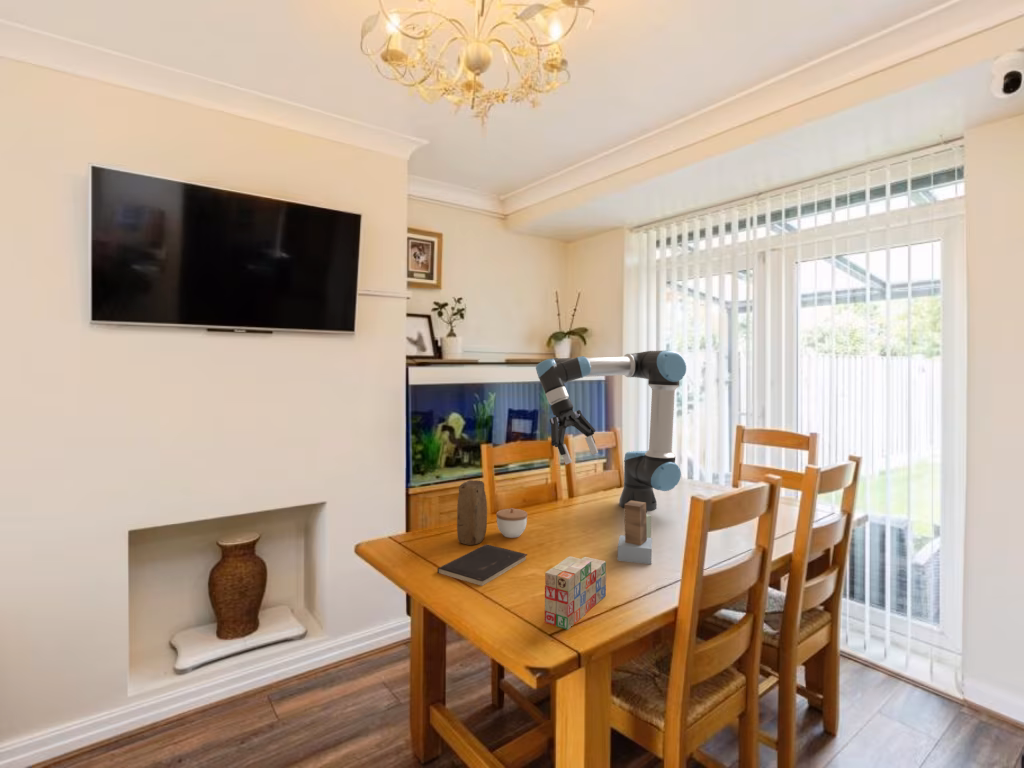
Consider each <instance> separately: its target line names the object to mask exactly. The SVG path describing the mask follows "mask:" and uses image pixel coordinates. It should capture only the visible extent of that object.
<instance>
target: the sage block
mask: <svg viewBox="0 0 1024 768" xmlns="http://www.w3.org/2000/svg"><path fill="white" fill-rule="evenodd" d="M646 525H647V538H652V534H651V533H652V515H651V514H648V513H646Z"/></svg>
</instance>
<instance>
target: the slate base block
mask: <svg viewBox="0 0 1024 768" xmlns="http://www.w3.org/2000/svg"><path fill="white" fill-rule="evenodd" d="M652 545H653V538H652V537H651V538H647V541H645V542H644V543H643V544H642V545H636V544H631V543H626V542H625V534H624V535H622V534H620V535H619V539H618V544H617V561H618V562H619V561H620V562H628V563H635V564H647V565H652V557H653V555H652V553H653V551H652V549H653V546H652Z"/></svg>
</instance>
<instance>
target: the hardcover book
mask: <svg viewBox="0 0 1024 768" xmlns="http://www.w3.org/2000/svg"><path fill="white" fill-rule="evenodd" d="M527 556H528V553H525V552H524V553H523V552H520V551H516V550H511V549H508V548H502V547H498V546H496V545H495V546H494V545H491V544H487V543H486V544H484V545H482V546H479V547H478V548H476V549H473V550H472V551H471V550H470V551H469V552H467V553H466V554H464V555H462V556H460V557H457V558H455V559H454V560H452V561H450V562H447V563H446V564H443V565H441V566H440V567H437V574H441V575H444V576H447V577H451V578H454V579H457V580H461V581H464V582H467V583H469V584H470V583H471V584H473V585H478V586H479V587H480V586H481V587H483V586H485V585H487V584H488V583H490V582H491V581H493V580H495V579H496V578H498V577H500V576H501V575H503V574H504V573H506V572H508V571H509V570H511V569H513V568H514V567H516V566H517V565H519V564H521V563H523V562H524V561H526V559H527Z"/></svg>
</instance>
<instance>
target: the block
mask: <svg viewBox="0 0 1024 768" xmlns="http://www.w3.org/2000/svg"><path fill="white" fill-rule="evenodd" d="M456 514H457V515H456V516H457V517H456V531H457V533H456V535H457V541H458V543H461V544H463V545H466V546H467V545H468V546H473V545H479V544H480V543H482V542H483V540H484V538H485V537H486V536H485V535H486V532H487V527H488V525H487V524H488V522H487V521H488V502H487V495H486V491H485V484H484V481H481V480H473V479H471V480H470V479H469V480H467V481H464V482H462V483H461V484H460V485H459V486H458V496H457V510H456Z"/></svg>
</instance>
